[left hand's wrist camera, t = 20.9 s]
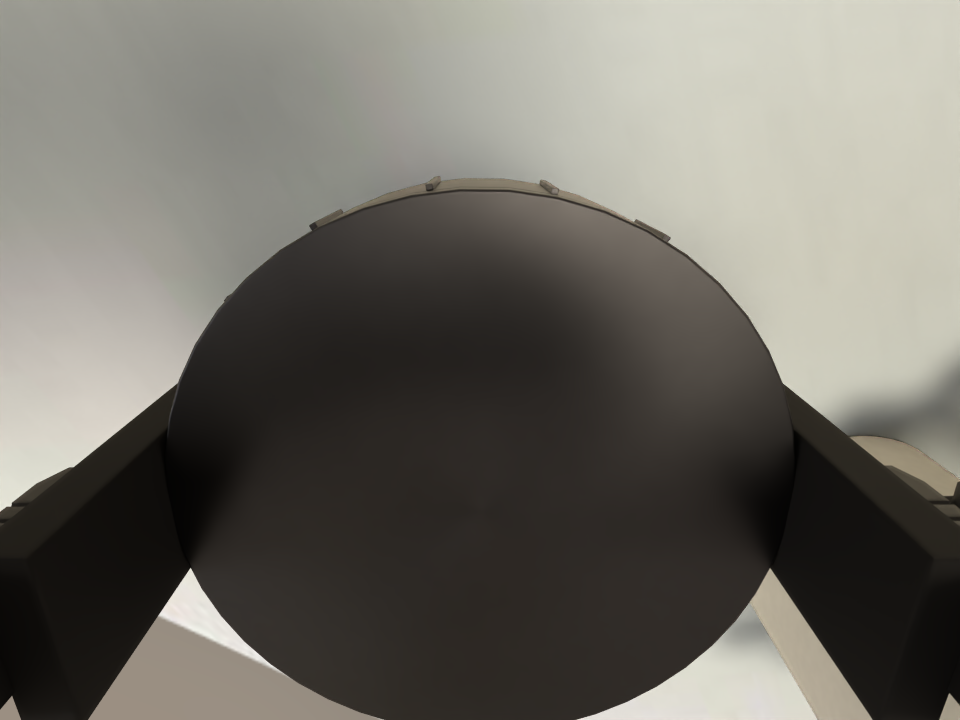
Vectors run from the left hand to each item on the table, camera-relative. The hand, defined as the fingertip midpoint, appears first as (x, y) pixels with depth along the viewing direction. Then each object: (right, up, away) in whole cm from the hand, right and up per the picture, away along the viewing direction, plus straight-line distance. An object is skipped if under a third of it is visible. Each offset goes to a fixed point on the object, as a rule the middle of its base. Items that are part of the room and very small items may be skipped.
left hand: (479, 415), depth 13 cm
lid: (0, -1, -3) cm, 3 cm away
